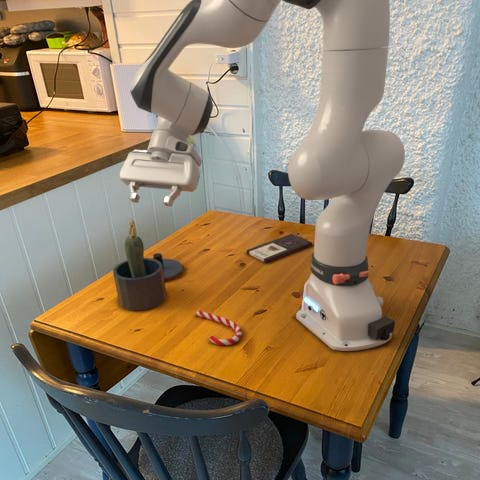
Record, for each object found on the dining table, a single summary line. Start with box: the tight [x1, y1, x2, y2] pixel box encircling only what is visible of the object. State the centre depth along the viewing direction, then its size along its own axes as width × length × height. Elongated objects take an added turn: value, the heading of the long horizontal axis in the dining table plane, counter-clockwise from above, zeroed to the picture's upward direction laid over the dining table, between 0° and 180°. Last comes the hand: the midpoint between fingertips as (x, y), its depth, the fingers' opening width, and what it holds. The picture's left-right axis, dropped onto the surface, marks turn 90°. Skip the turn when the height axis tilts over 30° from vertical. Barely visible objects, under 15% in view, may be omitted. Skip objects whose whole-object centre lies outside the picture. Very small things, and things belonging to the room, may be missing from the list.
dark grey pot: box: [112, 257, 167, 312], centre depth 114 cm, size 12×12×8 cm
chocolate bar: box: [246, 233, 313, 264], centre depth 138 cm, size 9×1×18 cm
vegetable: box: [124, 217, 147, 278], centre depth 111 cm, size 4×4×20 cm
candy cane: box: [195, 310, 243, 346], centre depth 104 cm, size 8×1×15 cm
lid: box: [152, 252, 184, 281], centre depth 127 cm, size 13×13×5 cm
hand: (150, 203), depth 112 cm, fingers open, 8 cm apart
